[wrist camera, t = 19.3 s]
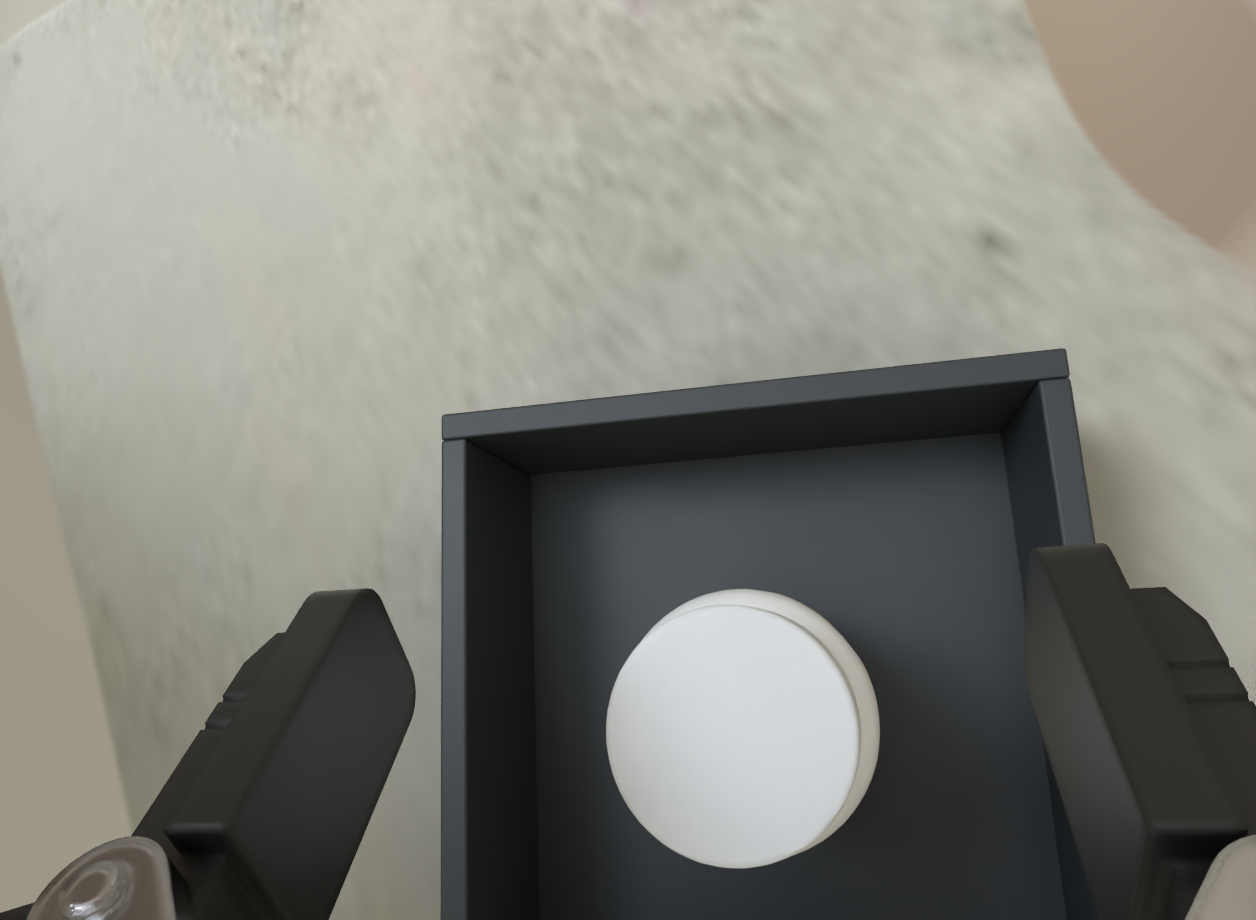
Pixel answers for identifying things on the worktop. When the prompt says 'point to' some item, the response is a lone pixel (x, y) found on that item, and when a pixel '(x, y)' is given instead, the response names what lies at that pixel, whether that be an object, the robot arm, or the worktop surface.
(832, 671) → the supplement bottle
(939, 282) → the worktop surface
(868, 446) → the bin
